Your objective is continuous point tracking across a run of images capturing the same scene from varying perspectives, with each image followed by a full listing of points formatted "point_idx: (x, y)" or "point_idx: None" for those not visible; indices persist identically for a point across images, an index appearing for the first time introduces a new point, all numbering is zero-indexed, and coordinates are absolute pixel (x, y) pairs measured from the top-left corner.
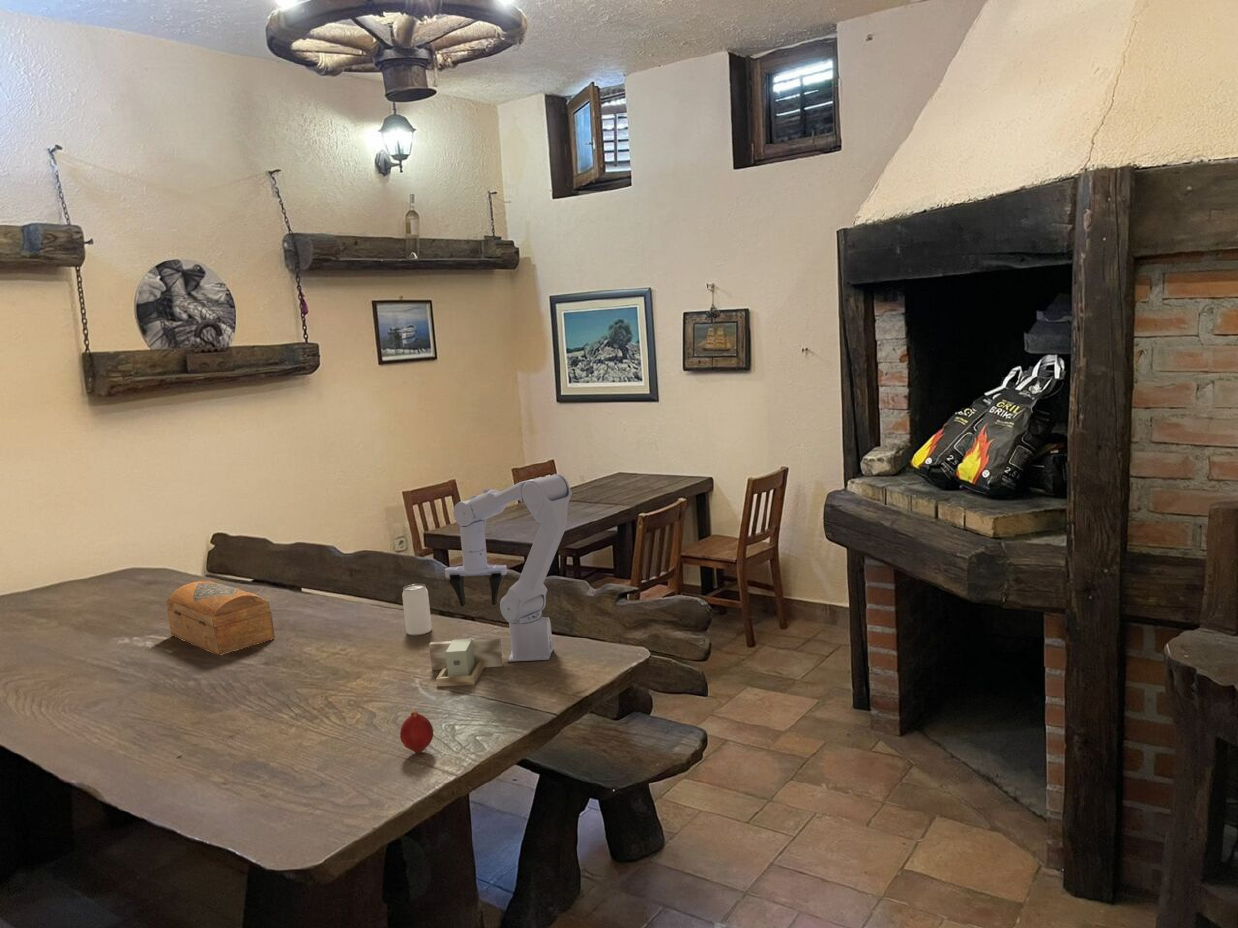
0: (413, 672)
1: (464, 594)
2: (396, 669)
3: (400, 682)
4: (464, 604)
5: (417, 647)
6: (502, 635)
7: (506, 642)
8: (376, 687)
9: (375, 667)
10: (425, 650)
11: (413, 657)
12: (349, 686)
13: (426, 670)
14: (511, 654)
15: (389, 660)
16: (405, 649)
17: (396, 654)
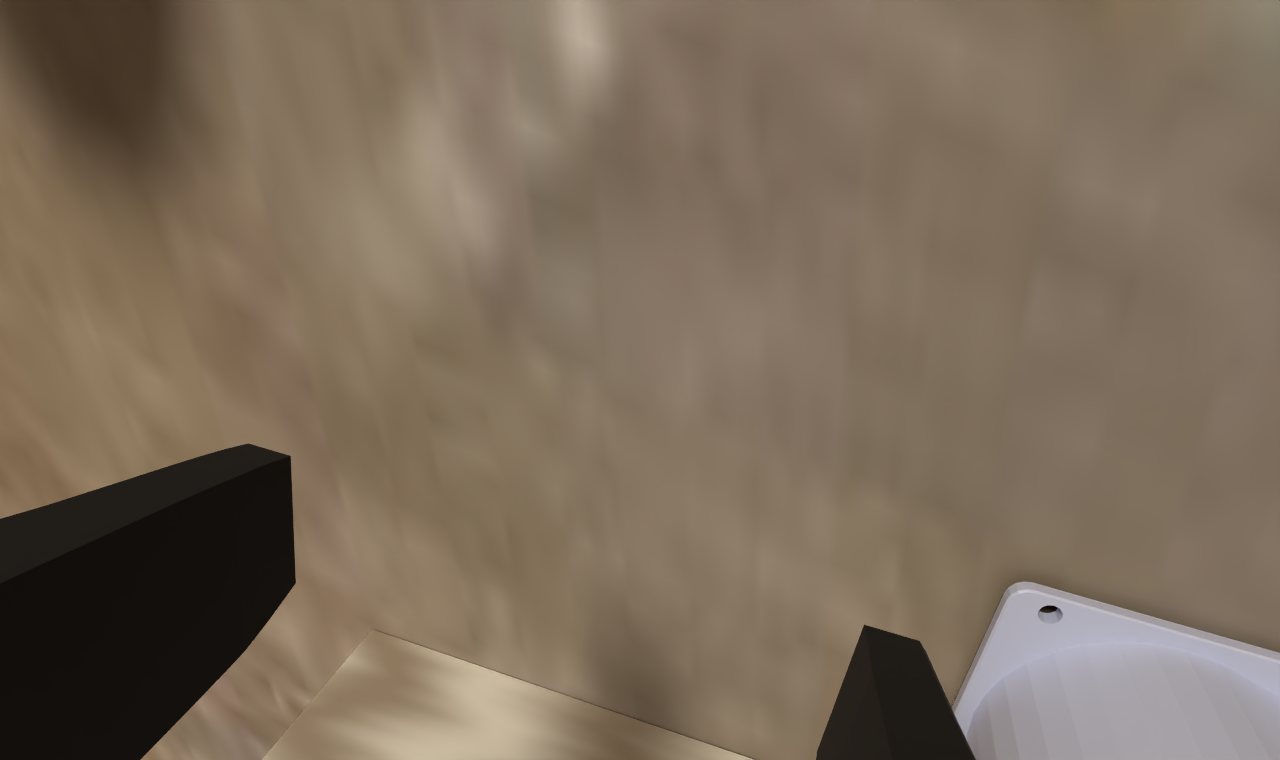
0: (270, 649)
1: (134, 529)
2: None
3: (247, 753)
4: (288, 515)
5: (113, 121)
6: (959, 11)
7: (971, 305)
8: (150, 754)
9: (4, 461)
10: (208, 235)
11: (172, 371)
12: None
13: (340, 655)
14: (964, 719)
15: (30, 363)
16: (35, 140)
17: (20, 246)
